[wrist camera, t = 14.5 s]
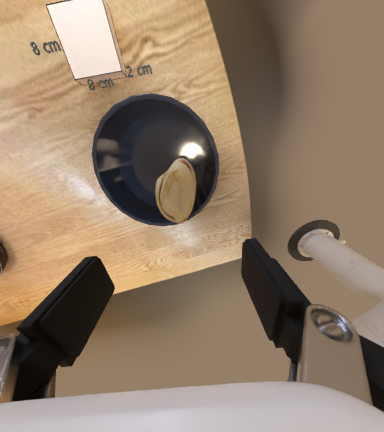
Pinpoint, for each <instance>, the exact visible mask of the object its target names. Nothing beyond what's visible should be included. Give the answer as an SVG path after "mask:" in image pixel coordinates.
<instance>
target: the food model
mask: <svg viewBox="0 0 384 432" xmlns="http://www.w3.org/2000/svg"><path fill="white" fill-rule="evenodd" d="M195 192H196V178H195V172H194V170H193V168H192V166H191V164H190V163H189V162H188V161H187V160H186V159H184V158H179V159H177V160H175V161H174V163H173V164H172V165H171V166H170V168H169V169H168V170H167V171H166V172H165V173H164V174H162V175H161V176H160V177H159V178H158V179H157V182H156V190H155V194H156V203H157V205H158V208H159V210H160V212H161V213H162V215H163V216H164V217H165V218H166V219H168V220H170V221H172V222H175V223H183V222H185V221H186V220H187V218H188V217H189V215H190V213H191V211H192V208H193V205H194V201H195Z"/></svg>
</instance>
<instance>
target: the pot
mask: <svg viewBox="0 0 384 432" xmlns="http://www.w3.org/2000/svg"><path fill="white" fill-rule="evenodd" d="M92 158H93V164H94V171H95V174H96V176H97V179H98V181H99V184H100V186H101V188H102V190H103V191H104V193H105V194H106V196H107V197H108V198H109V200H110V201H111V202H112V203H113V204H114V205H115V206H116V207H117V208H118V209H119V210H120V211H121V212H123V213H124V214H126V215H128V216H129V217H131V218H133V219H134V220H136V221H139V222H142V223H145V224H148V225H157V226H168V225H176V224H179V223H175V222H172V221H170V220H168V219H166V218H165V217H164V216H163V215H162V213H161V212H160V210H159V208H158V205H157V203H156V194H155V190H156V182H157V179H158V178H159V177H160V176H161V175H162V174H164V173H165V172H166V171H167V170H168V169H169V168H170V166H171V165H172V164H173V163H174V161H175V160H177V159H179V158H184V159H186V160H187V161H188V162H189V163H190V164H191V166H192V168H193V170H194V172H195V178H196V192H195V201H194V205H193V208H192V211H191V213H190V215H189V217H188V218H187V220H189V219H190V218H192V217H193V216H195V215H196V214H198V213H199V212H200V211H201V210H202V209H203V208H204V207H205V205H206V204H207V203H208V202H209V200H210V198H211V196H212V195H213V193H214V191H215V189H216V184H217V180H218V175H219V158H218V152H217V149H216V145H215V142H214V139H213V137H212V135H211V133H210V131H209V130H208V128H207V126H206V125H205V123H204V121H203V120H202V119H201V118H200V117H199V116H198V115H197V114H196V113H195V112H194V111H193V110H192V109H191V108H190V107H188V106H187V105H185V104H183V103H181V102H179V101H177V100H175V99H174V98H172V97H168V96H163V95H158V94H153V93H148V94H141V95H134V96H130V97H128V98H126V99H124V100H122V101H121V102H119V103H117V104H115V105H114V106H113V107H112V108H111V109H110V110H109V111H108V112H107V113H106V114H105V116H104V117H103V118H102V119H101V121H100V123H99V126H98V128H97V130H96V133H95V135H94V140H93V149H92ZM187 220H186V221H187Z"/></svg>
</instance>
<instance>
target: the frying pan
mask: <svg viewBox="0 0 384 432" xmlns="http://www.w3.org/2000/svg"><path fill="white" fill-rule="evenodd" d="M5 264H6V256H5V253H4V251H3V249H2V248H1V246H0V276H1V274H2V271H3V269H4V267H5Z"/></svg>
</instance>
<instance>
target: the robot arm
mask: <svg viewBox="0 0 384 432" xmlns="http://www.w3.org/2000/svg"><path fill="white" fill-rule="evenodd" d="M345 243H346V241H345V240H339V241H338V240H337V239H335V238H334V236H333V234H332V232H330V231H329V230H327V229H315V230H312V231H310V232H308V233H306V234H305V235H304V236H303V237H302V238H301V239H300V240H299V242H298V245H297V250H298V252H299V253H300V254H301V255H302V256H305V257H311V258H312V259H313V260H315V261H316V262H317V263H318V264H319V265H321V266H322V267H323V268H324V269H325V270H326V271H327V272H329V273H330V274H331V275H332V276H333V277H334V278H336V279H337V280H338V281H339V282H340V283H341V284H343V285H344V286H345V287H346V288H347V289H348V290H350V291H351V292H353V293H355V294H357V295H359V296H362V297H365V298H369V299H374V300H378V301H379V304H377V305H376V306H375V307H373V308H371V309H370V310H368V311H367V312H365V313H363V314H362V315H360V316H359V317H357V318H356V319H355V320H354V321H353V322H352V323H351V322H350V321H349V320H348V319H347V318H346V317H345V316H343V315H342V314H340V313H339V312H337V311H336V310H334V309H332V308H330V307H327V306H324V305H320V304H311V303H310V301H309V300H308V299H307V298H306V296H305V295H304V294H303V293H302V292H301V291H300V289H299V288H298V287H297V285H296V284H295V283H294V282H293V281H292V279H291V278H290V277H289V276H288V274H287V273H286V272H285V270H284V269H283V268H282V267H281V266H280V264H279V263H278V262H277V261H276V260H275V259H273V258H271V257H270V256H269V255H268V253H267V252H266V251H265V250H264V249H263V247H262V246H261V245H260V243H259V242H258V241H257V239H255V238H254V239H246V240H245V242H243V247H242V268H241V274H242V278H243V281H244V283H245V285H246V287H247V290H248V292H249V295H250V297H251V299H252V301H253V304H254V306H255V309H256V311H257V313H258V316H259V318H260V320H261V323H262V325H263V327H264V330H265V332H266V334H267V336H268V338H269V340H273V342H274V344H275V347H276V348H282V347H283V348H284V350H285V352H286V355H287V356H288V357H289V367H288V373H287V381H286V382H282V381H281V382H280V381H271V382H253V383H233V384H219V385H205V386H192V387H179V388H166V389H154V390H141V391H129V392H117V393H105V394H92V395H81V396H69V397H58V398H55V380H56V379H55V378H56V369H57V367H58V365H60V366H61V367H67V366H72V365H73V363H74V361H75V360H76V358H77V357H78V356H79V355H80V354H81V352H82V350H83V348H84V347H85V345H86V343H87V341H88V339H89V337H90V335H91V333H92V331H93V330H94V328H95V326H96V324H97V322H98V320H99V318H100V316H101V314H102V313H103V311H104V309H105V307H106V305H107V303H108V302H109V300H110V298H111V296H112V294H113V292H114V289H115V287H114V284H113V282H112V280H111V278H110V276H109V275H108V273H107V271H106V269H105V267H104V265H103V263H102V261H101V259H100V258H98V257H97V256H92V257H86V258H84V259H83V260H82V261H81V262H80V263H79V264H78V265H77V266H76V267H75V268H74V269H73V270H72V272H71V273H70V274H69V275H68V276H67V277H66V278H65V279H64V280H63V281H62V282H61V283H60V284H59V285H58V286H57V287H56V288H55V289H54V290H53V291H52V292H51V293H50V294H49V295H48V296H47V297H46V298H45V299H44V300H43V301H42V302H41V303H40V304H39V305H38V306H37V307H36V308H35V310H34V311H33V312H32V313H31V314H30V315H29V316H28V317H27V318H26V319H25V320H24V321H23V322H22V323H21V324H20V325H19V326H18V327H17V330H18V331H19V332H21V333H20V334H19V335H18V336H16V335H14V334H6V335H2V336H0V432H384V269H383V268H381V267H380V266H378V265H376V264H375V263H373V262H371V261H369V260H368V259H366V258H364V257H363V256H361V255H360V254H358V253H356V252H355V251H353V250H351V249H350V248H348V247H347V245H345Z"/></svg>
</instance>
